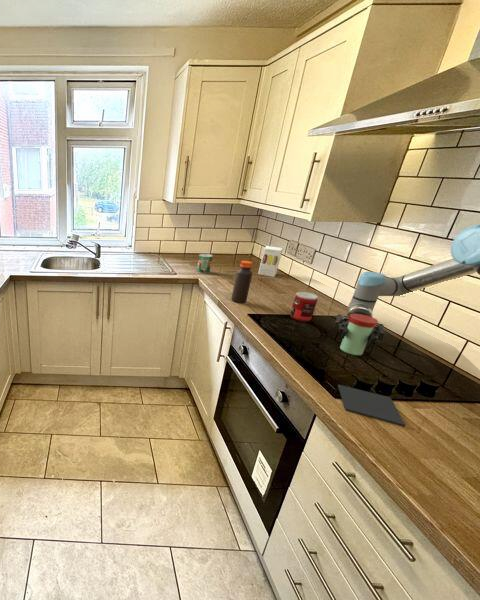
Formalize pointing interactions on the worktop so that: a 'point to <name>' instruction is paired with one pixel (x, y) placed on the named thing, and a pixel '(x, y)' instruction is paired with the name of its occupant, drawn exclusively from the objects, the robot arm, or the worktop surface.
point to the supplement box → (270, 261)
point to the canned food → (303, 306)
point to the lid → (363, 320)
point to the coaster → (370, 405)
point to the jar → (355, 339)
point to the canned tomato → (204, 263)
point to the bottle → (242, 282)
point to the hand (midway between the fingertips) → (357, 338)
